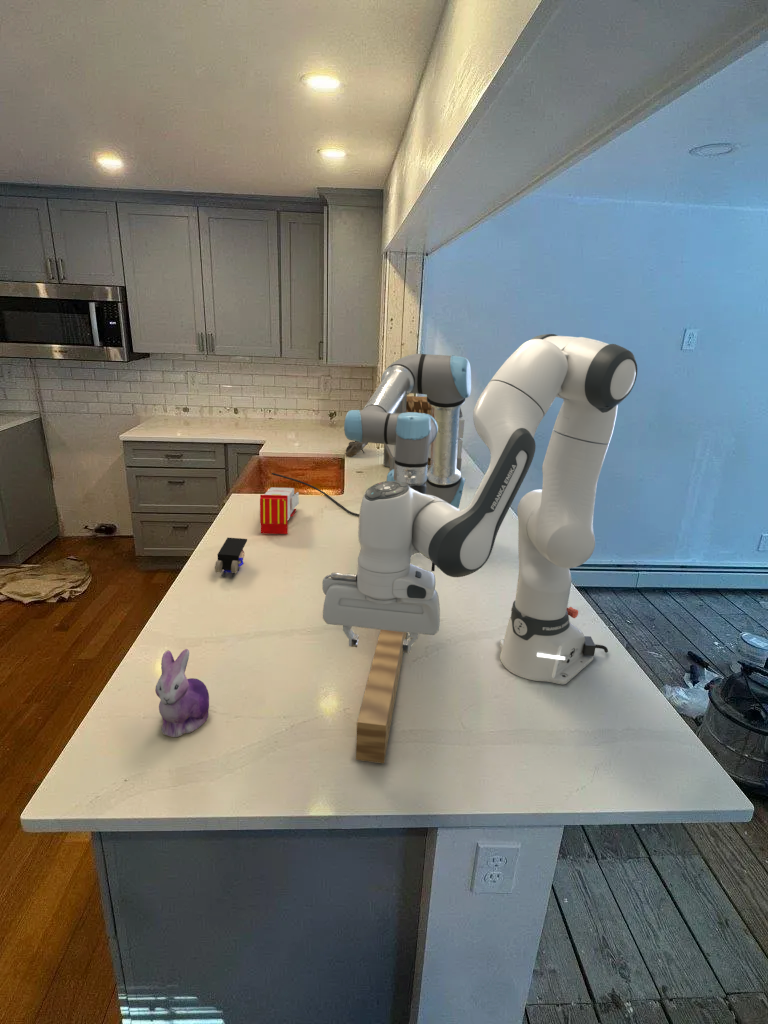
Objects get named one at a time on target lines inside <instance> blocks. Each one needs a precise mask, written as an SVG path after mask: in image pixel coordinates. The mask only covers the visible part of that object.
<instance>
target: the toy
mask: <svg viewBox="0 0 768 1024" xmlns="http://www.w3.org/2000/svg"><path fill="white" fill-rule="evenodd" d="M299 494H300V493H299V491H297V492H296V493H295V488H294V487H270V488H269V489H268V490H267V491H266V492H265V493H264V494H259V520H260V521H259V524H260V534H266V535H272V534H273V535H288V534H289V532H288V531H289V530H288V527H289V524H288V523H289V522H288V521H289V519H290V518H292V517H293V516H294V514H295V513H296V511H297V506H298V505H299V503H300V496H299Z"/></svg>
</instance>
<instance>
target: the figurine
mask: <svg viewBox="0 0 768 1024" xmlns="http://www.w3.org/2000/svg"><path fill="white" fill-rule="evenodd" d="M189 658H190V649H187V648H184V649H183V650H182V651H181V652H180V654H179V655H178V656H177V657H176V659H175V658H174V656H173V652H171V651H170V650H167V649H166V651H165V652H163V654H162V657H161V663H160V665H161V668H160V669H161V674H160V676H159V678H158V680H157V682H156V684H155V688H154V689H155V694H156V696H157V697H158V698H159V703H158V712H159V714H160V716H161V720H162V727H161V733H162V734H163V735H164V736H168V737H171V738H179V737H181V736H183V735H184V734H191V733H192V732H194V731H196V730H197V729H199V728H201V726H203V725H204V724H205V723H207V721H208V718H209V709H210V695H209V690H208V687H207V685H206V684H205V683H204V682H203V681H202V680H200V679H198V678H195V677H194V678H191V677H190V678H187V676H186V673H185V672H186V669H187V665H188V662H189Z"/></svg>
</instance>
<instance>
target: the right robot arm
mask: <svg viewBox="0 0 768 1024" xmlns="http://www.w3.org/2000/svg"><path fill="white" fill-rule="evenodd" d="M637 377H638V364H637V360H636V357H635V355H634V353H633V352H632V351H631V350H629V349H627V348H625V347H624V346H621V345H619V344H616V343H607V342H604V341H601V340H597V339H594V338H590V337H584V336H579V337H577V336H569V335H568V336H567V335H558V334H555V333H545V334H539V335H536V336H534V337H532V338H531V339H529V340H526V341H525V342H523V343H522V344H521V345H520V346H518V347H517V349H516V350H515V351H514V352H512V354H511V355H510V356H509V357H508V358H507V359H506V360H505V361H504V362H503V363H502V364H501V366H500V367H499V369H498V370H497V371H496V372H495V373H494V375H493V376H492V378H491V379H490V380H489V382H488V383H487V385H486V386H485V388H484V389H483V391H482V392H481V393H480V395H479V397H478V398H477V401H476V403H475V406H474V408H473V411H472V419H473V425H474V428H475V432H476V433H477V435H478V436H479V439H481V441H482V442H483V443H484V444H485V445H486V447H487V448H488V451H489V454H490V455H489V456H490V460H489V465H488V467H487V469H486V472H485V473H484V476H483V477H482V478H481V481H480V482H479V485H478V487H477V489H476V491H475V493H474V494H473V496H472V498H471V501H469V504H468V505H467V506H466V507H465V508H463V509H460V508H456V507H454V506H452V505H451V504H449V503H448V502H446V501H444V500H442V499H440V498H438V497H436V496H433V495H429V494H422V493H420V492H418V491H415V490H414V489H412V488H410V487H409V486H408V485H407V484H406V483H403V482H399V481H387V480H385V481H381V482H377V483H375V484H373V485H372V486H369V488H367V489H366V490H365V492H364V494H363V496H362V499H361V502H360V508H359V513H358V514H359V516H358V531H357V533H358V534H357V538H358V543H359V548H360V549H359V552H358V555H357V562H356V563H357V565H356V566H357V567H356V574H355V573H340V572H331V573H330V574H327V575H325V576H324V577H323V579H322V586H321V587H322V593H323V594H324V595H325V596H324V600H323V608H322V620H323V621H324V622H325V623H326V624H327V625H333V626H342V631H343V633H344V635H345V636H346V637H347V639H348V647H349V648H358V645H359V636H360V635H359V633H355V632H354V630H353V629H352V628H361V629H370V630H379V631H380V630H389V631H398V632H407V634H408V633H409V637H408V638H406V639H404V640H403V646H402V648H403V649H402V652H403V654H405V653H406V654H411V653H412V652H411V651H412V646H413V645H414V643H416V642H417V640H418V639H419V634H420V635H427V636H428V635H429V636H434V635H436V634H438V633H439V631H440V626H441V624H440V623H441V606H440V605H441V604H440V597H439V593H438V591H437V589H436V575H435V574H434V573H433V571H431V570H430V571H429V570H428V569H424V568H421V567H419V566H417V565H414V564H412V563H411V559H412V557H413V556H414V555H415V554H421V555H422V556H423V557H425V558H426V559H428V560H430V561H431V563H432V562H433V563H434V564H435V567H437V568H438V569H439V570H440V571H441V572H442V573H443V574H444V575H446V576H448V577H451V578H463V577H466V576H470V575H472V574H473V573H476V572H478V571H479V570H480V569H482V568H483V566H485V564H486V563H487V562H488V560H489V559H490V557H491V554H492V551H493V548H494V545H495V542H496V538H497V535H498V533H499V530H500V528H501V525H502V524H503V522H504V519H505V518H506V516H507V514H508V512H509V510H510V508H511V506H512V504H513V502H514V500H515V498H516V496H517V493H518V492H519V490H520V488H521V486H522V484H523V482H524V480H525V478H526V476H527V473H528V471H529V469H530V468H531V465H532V462H533V460H534V457H535V453H536V447H537V446H536V441H535V435H536V432H537V430H538V428H539V425H540V423H541V422H542V420H543V419H544V417H545V416H546V414H547V412H548V411H549V410H550V408H551V406H553V405H552V404H553V403H554V402H555V399H556V398H559V399H562V400H563V402H562V404H561V406H560V408H559V411H558V413H557V416H556V419H555V422H554V425H553V429H552V431H551V435H550V438H549V442H548V444H547V448H546V451H545V455H544V459H543V461H542V466H541V468H542V469H541V472H542V489H540V488H539V489H534V490H531V491H529V492H527V493H525V494H524V495H523V496H522V497H521V498H520V500H519V502H518V504H517V508H516V514H517V523H518V533H517V535H518V536H517V537H518V538H517V541H518V542H517V545H518V575H517V584H516V591H515V599H514V600H513V602H512V606H511V610H510V611H511V613H510V616H509V618H508V621H507V626H506V630H505V633H504V637H503V638H502V639H501V640H500V643H499V645H500V649H501V651H500V655H499V660H500V662H501V664H502V665H503V667H505V669H506V670H507V671H508V672H510V673H512V674H514V675H516V676H518V677H520V678H522V679H525V680H530V681H535V682H549V683H553V684H557V685H563V686H564V685H567V684H568V683H569V682H571V680H572V679H574V678H575V677H576V676H577V675H578V674H579V673H580V672H581V671H582V670H584V669H585V668H586V667H587V666H588V665H590V663H592V662H593V661H594V657H595V653H596V649H600V650H603V651H604V652H605V654H607V653H608V652H609V648H608V647H607V646H606V645H603V644H596V643H595V641H594V640H593V638H592V636H587V635H585V634H584V633H583V631H582V630H581V629H580V628H578V627H577V626H576V625H574V624H573V623H572V622H571V621H570V618H572V619H576V618H577V617H578V615H579V610H578V609H576V608H574V607H572V606H570V607H568V605H569V599H570V593H571V587H572V573H571V570H570V569H573V568H577V567H579V566H582V565H583V564H585V563H587V561H588V560H589V559H590V558H591V557H592V556H593V553H594V552H595V548H596V539H595V533H594V515H595V505H596V504H595V503H596V495H597V487H598V481H599V479H600V478H599V477H600V474H601V471H602V468H603V465H604V461H605V458H606V455H607V452H608V449H609V445H610V443H611V440H612V436H613V434H614V429H615V425H616V420H617V415H618V409H619V408H618V407H619V404H621V403H622V402H623V401H624V400H626V398H627V397H628V396H629V395H630V394H631V392H632V390H633V388H634V386H635V384H636V381H637ZM569 616H570V617H569Z"/></svg>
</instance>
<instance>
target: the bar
mask: <svg viewBox="0 0 768 1024" xmlns="http://www.w3.org/2000/svg"><path fill="white" fill-rule="evenodd" d="M407 634H408V632H398V631H389V630H379V635H378V637H377V642H376V646H375V650H374V653H373V654H374V655H373V658H372V662H371V665H370V670H369V674H368V678H367V682H366V686H365V690H364V692H363V697H362V701H361V705H360V709H359V712H358V717H357V722H356V737H355V739H356V740H355V741H356V742H355V743H356V744H355V760H356V761H362V762H370V763H377V764H385V760H386V755H387V749H388V742H389V738H390V731H391V726H392V719H393V714H394V707H395V702H396V697H397V696H396V695H397V690H398V685H399V678H400V673H401V668H402V662H403V655H404V652H402V649H403V648H402V646H403V640H404V639H407Z"/></svg>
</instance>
